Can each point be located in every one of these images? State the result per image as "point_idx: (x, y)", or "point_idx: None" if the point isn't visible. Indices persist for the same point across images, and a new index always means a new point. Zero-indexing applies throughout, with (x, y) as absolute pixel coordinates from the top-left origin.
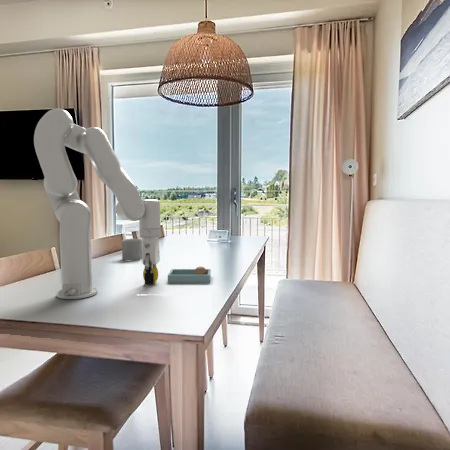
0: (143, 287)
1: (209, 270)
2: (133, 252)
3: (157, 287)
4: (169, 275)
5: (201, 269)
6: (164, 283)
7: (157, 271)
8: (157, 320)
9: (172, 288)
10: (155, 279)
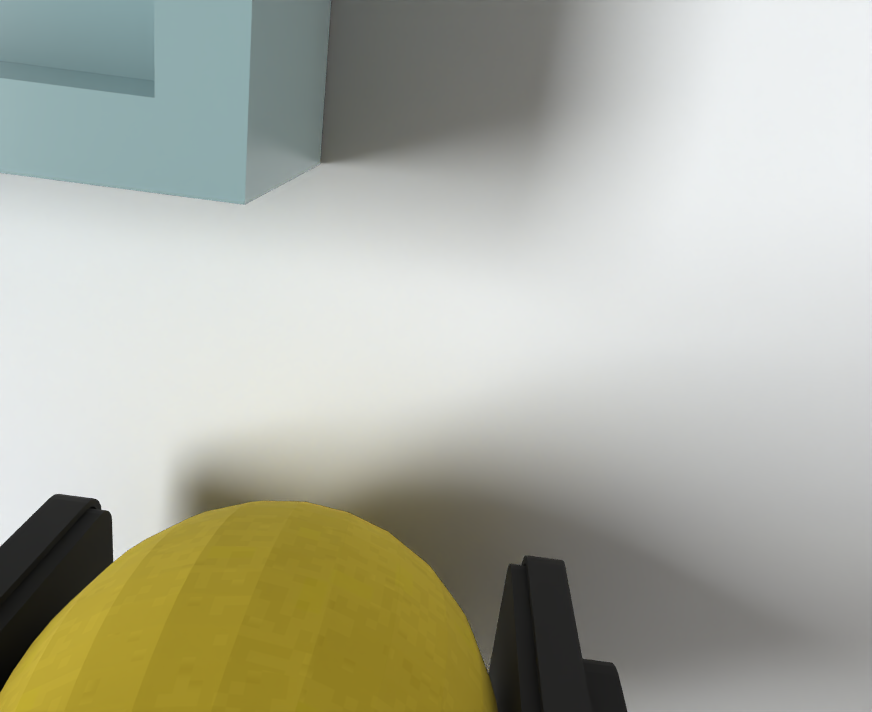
0: None
1: None
2: None
3: (593, 418)
4: (255, 126)
5: None
6: (188, 259)
7: (279, 672)
8: None
9: (801, 13)
10: (415, 558)
